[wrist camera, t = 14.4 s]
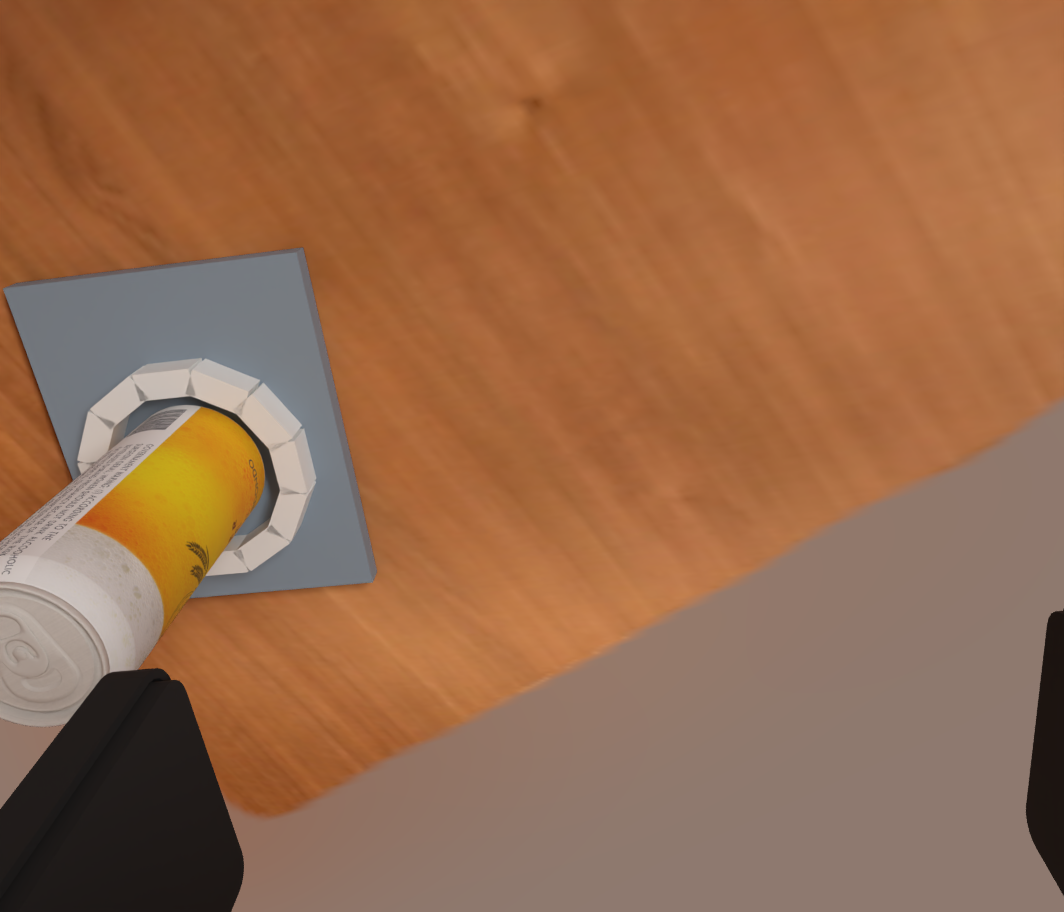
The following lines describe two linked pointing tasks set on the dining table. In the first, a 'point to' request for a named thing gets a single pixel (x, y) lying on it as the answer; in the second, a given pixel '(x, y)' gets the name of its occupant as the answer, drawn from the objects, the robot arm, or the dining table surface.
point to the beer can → (118, 558)
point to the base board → (231, 333)
